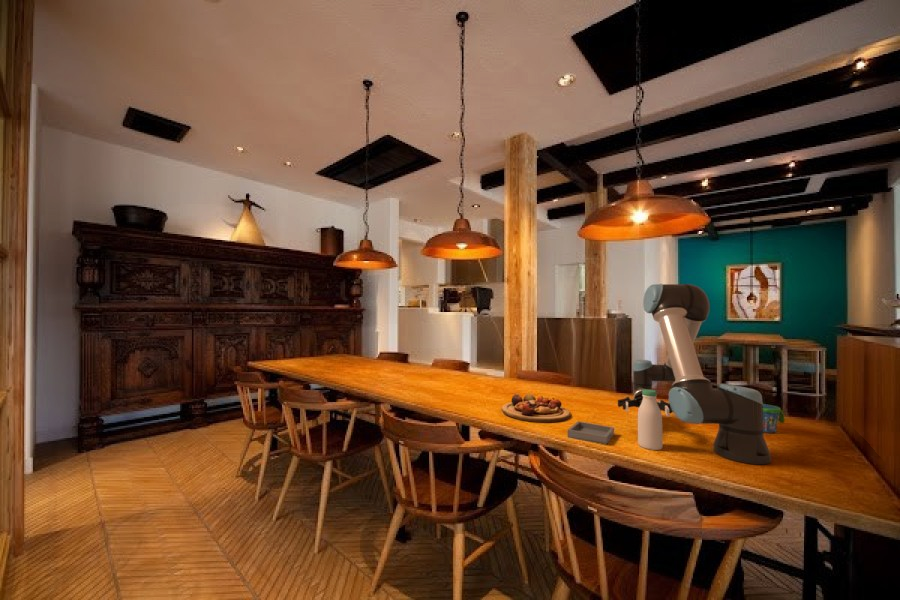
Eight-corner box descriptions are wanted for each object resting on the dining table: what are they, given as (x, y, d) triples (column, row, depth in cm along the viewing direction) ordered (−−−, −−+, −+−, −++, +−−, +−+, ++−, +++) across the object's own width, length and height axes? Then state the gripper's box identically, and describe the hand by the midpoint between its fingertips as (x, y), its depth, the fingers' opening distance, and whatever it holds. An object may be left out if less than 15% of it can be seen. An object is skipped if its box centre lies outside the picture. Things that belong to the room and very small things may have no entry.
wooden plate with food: (548, 428, 149) (549, 408, 149) (487, 412, 171) (488, 395, 171) (581, 415, 172) (582, 397, 172) (524, 402, 194) (524, 387, 194)
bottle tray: (614, 434, 141) (614, 427, 141) (606, 445, 129) (606, 437, 130) (577, 427, 149) (577, 421, 149) (567, 437, 137) (567, 429, 138)
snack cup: (774, 427, 152) (773, 403, 152) (795, 435, 142) (794, 409, 142) (734, 426, 154) (734, 402, 154) (752, 434, 143) (752, 408, 144)
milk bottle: (667, 450, 124) (666, 392, 125) (644, 450, 125) (644, 392, 125) (655, 442, 132) (654, 388, 133) (633, 442, 132) (633, 388, 133)
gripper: (678, 411, 149) (686, 425, 130) (612, 404, 160) (611, 416, 141) (677, 393, 149) (686, 404, 130) (612, 387, 160) (610, 397, 141)
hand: (647, 410), depth 135 cm, fingers open, 13 cm apart
